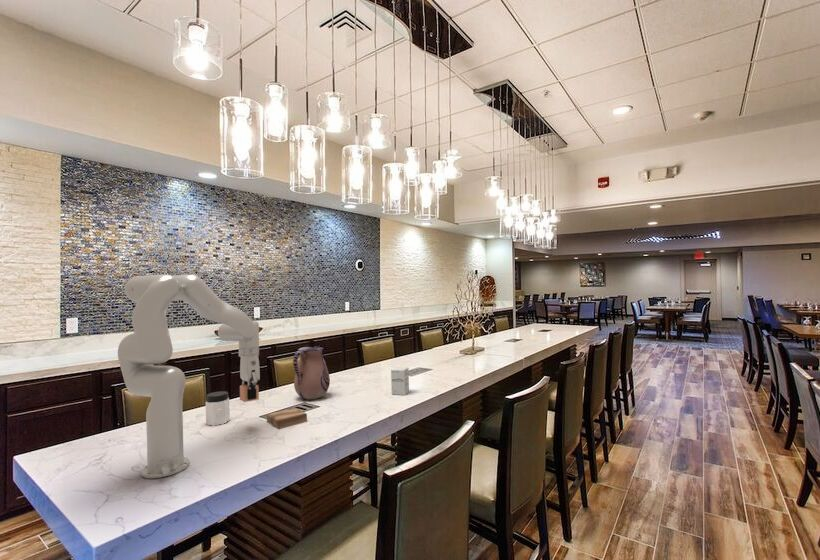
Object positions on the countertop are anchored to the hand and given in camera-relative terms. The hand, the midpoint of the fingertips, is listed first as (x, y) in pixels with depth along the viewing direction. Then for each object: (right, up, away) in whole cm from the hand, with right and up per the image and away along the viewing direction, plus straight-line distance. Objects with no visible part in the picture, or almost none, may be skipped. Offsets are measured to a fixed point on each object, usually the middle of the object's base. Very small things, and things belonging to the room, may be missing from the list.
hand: (249, 397), depth 154 cm
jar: (-16, -13, +8) cm, 23 cm away
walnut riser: (+13, -12, +6) cm, 19 cm away
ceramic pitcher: (+14, -13, +40) cm, 44 cm away
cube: (0, -1, 0) cm, 1 cm away
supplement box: (+59, -11, +43) cm, 74 cm away
